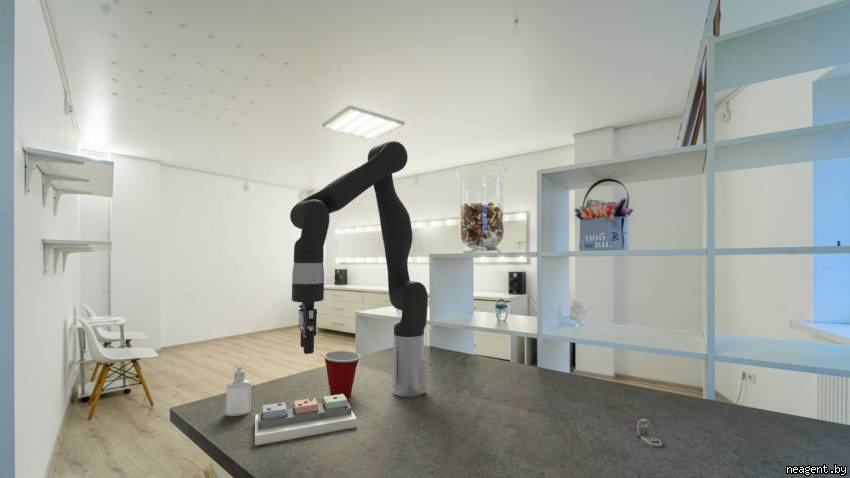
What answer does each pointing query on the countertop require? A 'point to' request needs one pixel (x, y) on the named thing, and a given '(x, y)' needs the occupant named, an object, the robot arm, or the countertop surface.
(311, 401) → the key three
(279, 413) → the key two
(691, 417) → the countertop surface
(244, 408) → the eye dropper bottle
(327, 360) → the plastic cup
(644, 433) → the strap clip
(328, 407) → the key one
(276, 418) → the keypad
